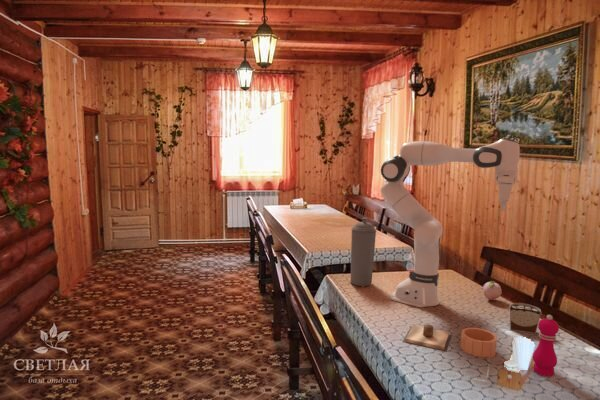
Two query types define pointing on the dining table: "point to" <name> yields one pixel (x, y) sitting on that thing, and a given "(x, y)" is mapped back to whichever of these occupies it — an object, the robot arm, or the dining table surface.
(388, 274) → the dining table surface
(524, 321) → the food container
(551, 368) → the pepper mill
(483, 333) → the bowl
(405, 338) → the mat
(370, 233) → the canister
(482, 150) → the robot arm
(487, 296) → the decorative fruit
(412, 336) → the lid
